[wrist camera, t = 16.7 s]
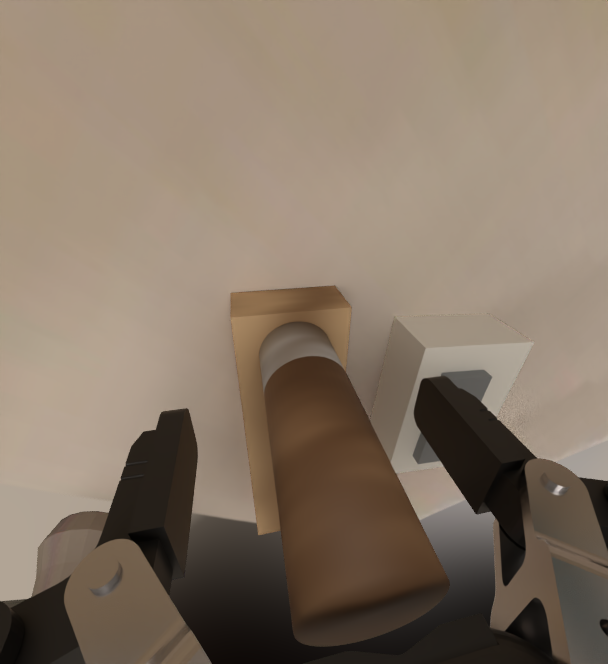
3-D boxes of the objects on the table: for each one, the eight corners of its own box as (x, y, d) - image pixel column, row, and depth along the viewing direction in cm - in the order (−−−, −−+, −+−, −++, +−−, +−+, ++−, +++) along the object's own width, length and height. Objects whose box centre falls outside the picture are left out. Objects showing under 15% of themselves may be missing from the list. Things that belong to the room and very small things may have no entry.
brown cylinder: (332, 318, 13) (469, 555, 6) (329, 377, 15) (430, 622, 7) (256, 325, 13) (292, 596, 5) (261, 385, 14) (293, 659, 7)
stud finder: (485, 311, 18) (544, 348, 15) (442, 421, 23) (480, 470, 19) (392, 314, 17) (433, 355, 14) (365, 430, 22) (391, 484, 18)
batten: (335, 285, 15) (351, 307, 13) (323, 486, 23) (332, 519, 21) (230, 293, 14) (230, 317, 12) (255, 498, 22) (258, 535, 20)
